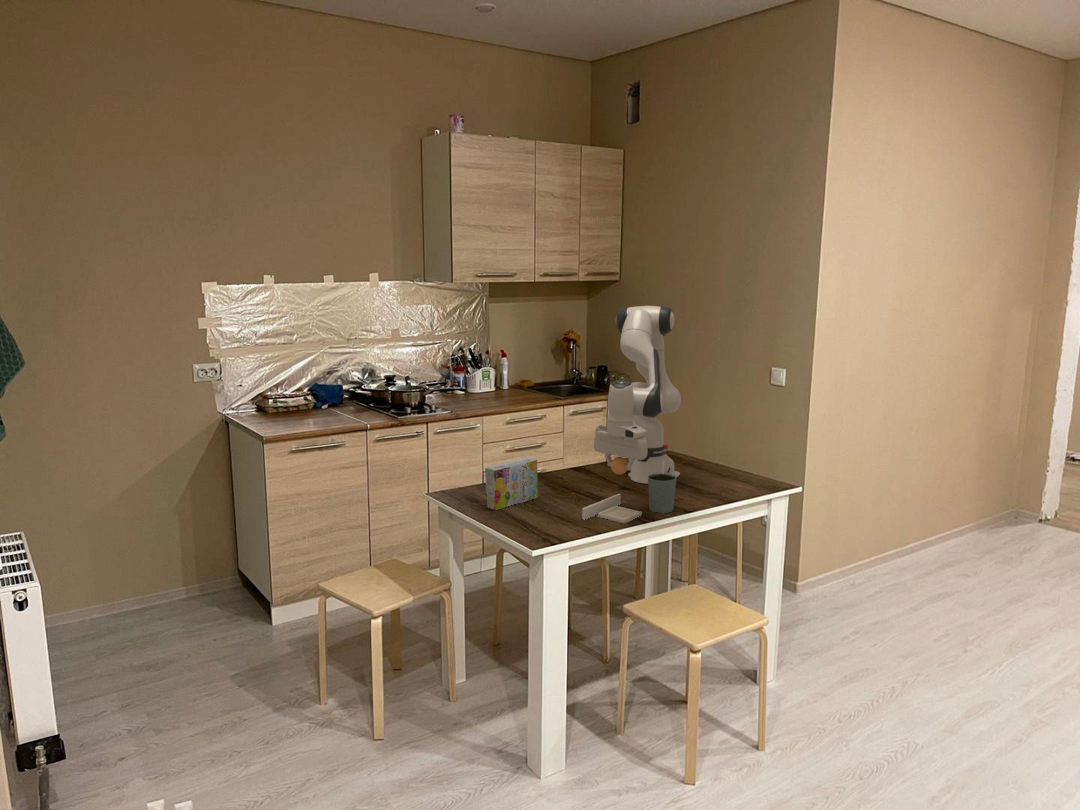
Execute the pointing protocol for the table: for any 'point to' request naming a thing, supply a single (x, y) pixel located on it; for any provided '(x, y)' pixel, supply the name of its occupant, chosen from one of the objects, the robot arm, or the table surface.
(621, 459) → the ball
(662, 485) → the grey green cup
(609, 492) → the table surface
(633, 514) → the square tray
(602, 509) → the low wall
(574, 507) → the table surface
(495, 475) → the snack box
